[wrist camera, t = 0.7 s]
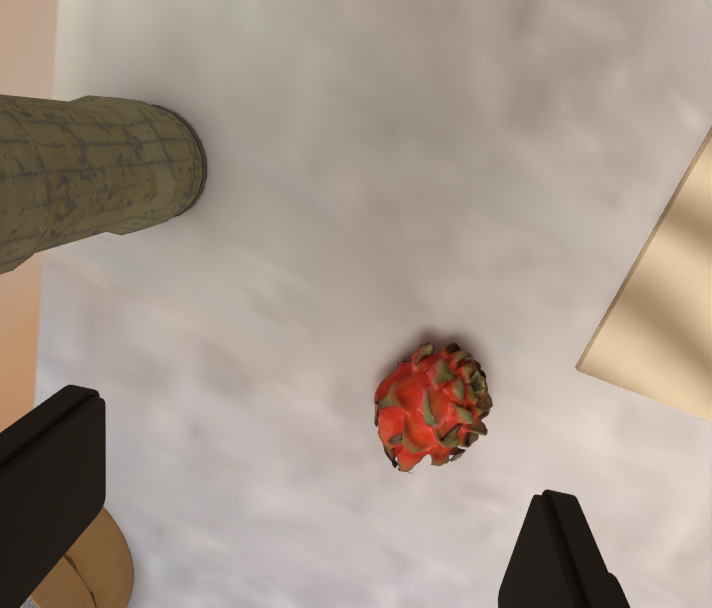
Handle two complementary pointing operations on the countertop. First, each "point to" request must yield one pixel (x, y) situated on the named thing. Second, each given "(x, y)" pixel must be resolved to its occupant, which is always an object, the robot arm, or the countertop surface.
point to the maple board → (666, 306)
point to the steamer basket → (90, 571)
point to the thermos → (90, 170)
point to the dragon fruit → (432, 406)
